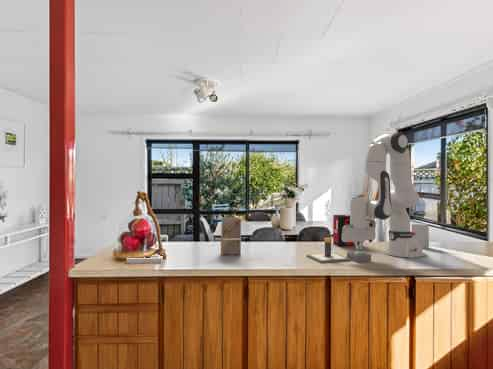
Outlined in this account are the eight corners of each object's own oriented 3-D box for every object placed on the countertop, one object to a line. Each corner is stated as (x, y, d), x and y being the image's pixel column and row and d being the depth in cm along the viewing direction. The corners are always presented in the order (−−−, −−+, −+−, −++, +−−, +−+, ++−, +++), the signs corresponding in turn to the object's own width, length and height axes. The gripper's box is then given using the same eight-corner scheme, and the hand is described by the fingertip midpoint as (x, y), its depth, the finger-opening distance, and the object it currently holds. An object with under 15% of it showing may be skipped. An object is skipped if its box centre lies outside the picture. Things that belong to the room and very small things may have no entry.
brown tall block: (220, 254, 202) (220, 211, 202) (240, 254, 203) (240, 211, 203) (220, 257, 194) (220, 212, 194) (241, 257, 196) (241, 212, 195)
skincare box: (429, 247, 223) (429, 223, 223) (423, 249, 220) (424, 224, 219) (416, 245, 230) (417, 222, 230) (411, 246, 227) (411, 223, 226)
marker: (329, 255, 194) (329, 237, 194) (332, 256, 190) (332, 238, 190) (323, 255, 193) (323, 237, 193) (326, 257, 189) (326, 239, 189)
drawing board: (334, 254, 202) (334, 252, 202) (350, 260, 187) (350, 258, 187) (306, 256, 196) (306, 254, 196) (321, 263, 181) (321, 260, 181)
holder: (144, 247, 224) (144, 242, 224) (172, 246, 225) (172, 242, 225) (126, 264, 179) (126, 258, 179) (161, 263, 180) (161, 258, 180)
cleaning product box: (338, 246, 226) (338, 216, 225) (333, 244, 235) (333, 214, 234) (362, 246, 228) (362, 216, 228) (356, 243, 237) (356, 214, 236)
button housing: (360, 257, 195) (360, 251, 195) (370, 261, 187) (371, 254, 186) (346, 258, 192) (346, 252, 192) (356, 262, 184) (356, 255, 184)
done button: (359, 256, 192) (359, 251, 192) (365, 258, 188) (365, 253, 188) (352, 257, 191) (352, 251, 191) (357, 259, 186) (357, 253, 186)
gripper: (345, 225, 184) (346, 251, 184) (377, 223, 191) (377, 248, 191) (339, 224, 190) (339, 249, 190) (369, 222, 197) (370, 246, 197)
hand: (358, 248), depth 191 cm, fingers closed
